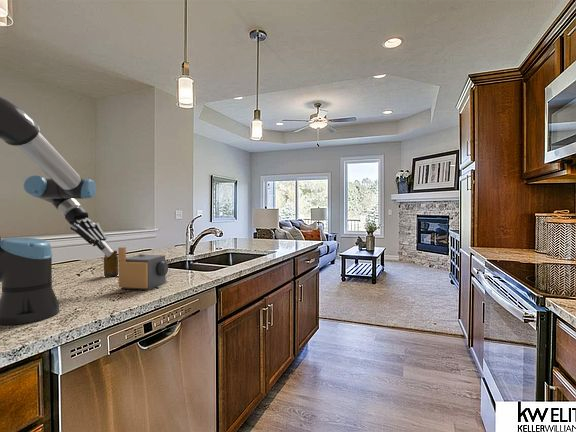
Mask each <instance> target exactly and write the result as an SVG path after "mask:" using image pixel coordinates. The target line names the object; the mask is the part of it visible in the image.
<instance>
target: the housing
mask: <svg viewBox="0 0 576 432" xmlns="http://www.w3.org/2000/svg"><path fill="white" fill-rule="evenodd" d="M126 262H147V263H148V288H127V287H121V289H123V290H124V289H125V290H141V291H143V290H144V291H149V290H152V289H154V288H157V287H159V286H162V285H164V284H166V275H167V274H168V272H169V263H168V262H167V261H166V255H164V254H145V253H139V254H137V255H132V256H128V257H126Z"/></svg>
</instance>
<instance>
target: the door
mask: <svg viewBox="0 0 576 432" xmlns="http://www.w3.org/2000/svg"><path fill="white" fill-rule="evenodd" d="M126 249H127V247H125V246H124V247H123V246H119V247H118V249H117V256H118V274H119V277H118V288H122V287H127V288H148V263H147V262H126V258H127V250H126Z"/></svg>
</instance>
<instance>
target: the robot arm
mask: <svg viewBox="0 0 576 432" xmlns="http://www.w3.org/2000/svg"><path fill="white" fill-rule="evenodd" d="M0 139H1V140H2V141H4V142H5V143H6V144H7V145H8V146H12V147H15V148H17V149H18V150H19V152H21V153H22V154H23V155H25V156H26V157H27V158H28V159H29V160H30V161H31V162H32V163H33V164H34V165H36V166H37V167H38V168H39V169H40V170H41V171H42V173H44V174H45V175H46V176H47V177H49V178H46V177H44V176H40V175H37V174H36V175H30V176H29V177H27V178H25V180H24V183H23V189H24V191H25V192H26V193H27V194H29V195H30V196H32V197H35V198H38V199H41V200H43V201H46V202H47V203H51V205H53V206H54V208H56V210H57V211H58V212H59V213H60V214H61V215H62V216H63V218H65V220H66V222H67V223H68V224H69V225H70V228H69V229H70V230H72V231H73V232H75V233H76V234H77V235H78V236H79V237H81V238H82V239H83V240H85V241H86V242H87V243H88V244H89V245H92V247H97V248H98V249H99V250H100V251H101V252H102V253H103V254H104V256H105V255H106V256H107V257H110V256H111V255H112V253H113V252H114V251H115V250H113V249H112V248H111V247H110V245H109V243H107V242H106V240H107V239H108V237H107V236H106V234H105V233H104V230H103V229H102V228H101V225H100V222H98V221H97V222H93V220H92V219H90V218H89V213H88V211H87V210H86V209H85V208H84V207H83V206H82V205H81V203H80V202H78V199H82V200H83V199H92V198H93V197H95V196H96V192H97V185H96V183H95V181H94V180H93V179H89V178H82V177H81V175H79V173H78V172H77V171H76V170H75V169H74V168H73V167H72V166H71V164H69V163H68V161H67V160H66V159H65V158H64V156H63V155H61V154H60V152H58V151H57V149H56V148H55V147H54V146H53V145H52V144H51V142H49V141H48V140H47V139H46V138H45V137H44V136H43V134H42V133H41V132H40V126H39V125H38V123H36V122H35V120H34V119H33V118H32V117H30V115H29V114H27V112H25V111H24V110H23V109H22V108H20V107H19V106H17V105H16V104H14V103H12V102H11V101H9V100H7V99H6V98H3V97H2V96H0ZM51 247H52V245H51V243H50V242H48V241H47V240H46V239H41V238H34V237H7V238H3V239H2V238H1V236H0V283H1V296H0V325H2V326H3V325H4V326H5V325H6V326H9V325H10V326H11V325H23V324H28V323H33V322H38V321H41V320H45V319H48V318H51V317H53V316H56V315H58V314H59V313H60V303H59V301H58V300H57V296H56V293H55V291H54V289H53V267H52V265H53V264H52V263H53V262H52V260H53V259H52V258H53V253H52V248H51Z"/></svg>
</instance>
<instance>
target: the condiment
mask: <svg viewBox="0 0 576 432" xmlns="http://www.w3.org/2000/svg"><path fill="white" fill-rule="evenodd" d="M113 251H114V252H113V253H112V255H111V256H110V257H107V256H106V255H105V254H104V257H103V276H105V277H104V278H112V277H111V276H116V278H117V277H118V278H119V276H117V275H118V274H119V260H118V250H113Z"/></svg>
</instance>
